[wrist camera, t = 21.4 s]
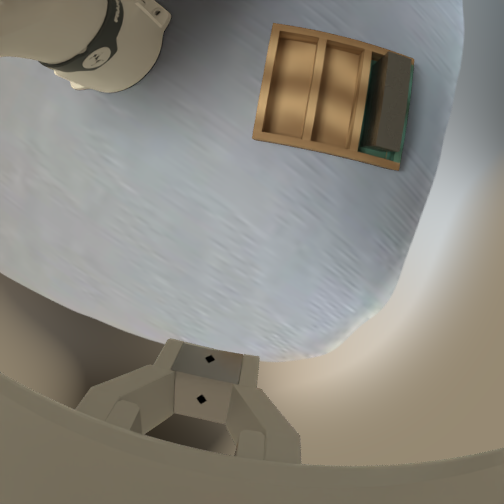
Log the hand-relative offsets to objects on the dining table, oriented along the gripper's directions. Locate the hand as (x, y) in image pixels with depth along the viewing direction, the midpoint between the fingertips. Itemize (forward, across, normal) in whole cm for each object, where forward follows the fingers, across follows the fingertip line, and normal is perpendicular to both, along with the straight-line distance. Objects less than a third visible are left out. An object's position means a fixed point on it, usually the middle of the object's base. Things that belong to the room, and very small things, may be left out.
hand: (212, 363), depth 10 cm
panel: (+34, +13, +16) cm, 40 cm away
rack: (+35, +7, +16) cm, 39 cm away
